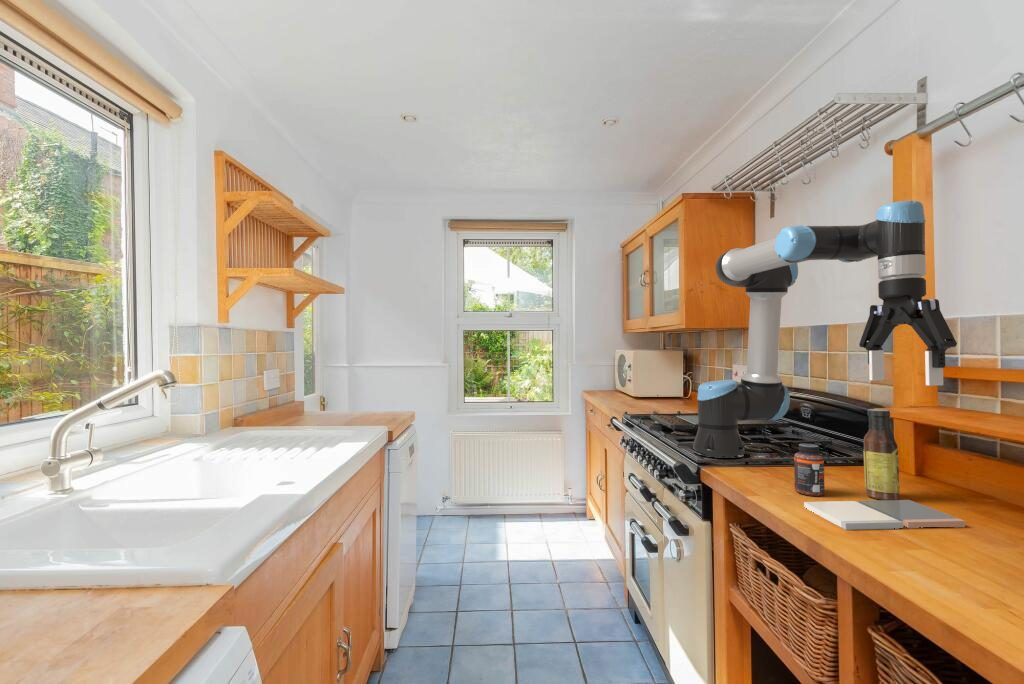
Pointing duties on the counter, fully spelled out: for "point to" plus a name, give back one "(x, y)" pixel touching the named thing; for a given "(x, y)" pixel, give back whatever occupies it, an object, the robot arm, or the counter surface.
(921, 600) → the counter surface
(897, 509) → the grey square coaster
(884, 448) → the sauce bottle
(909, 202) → the robot arm
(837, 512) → the cream square tile
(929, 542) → the counter surface
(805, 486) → the supplement bottle
